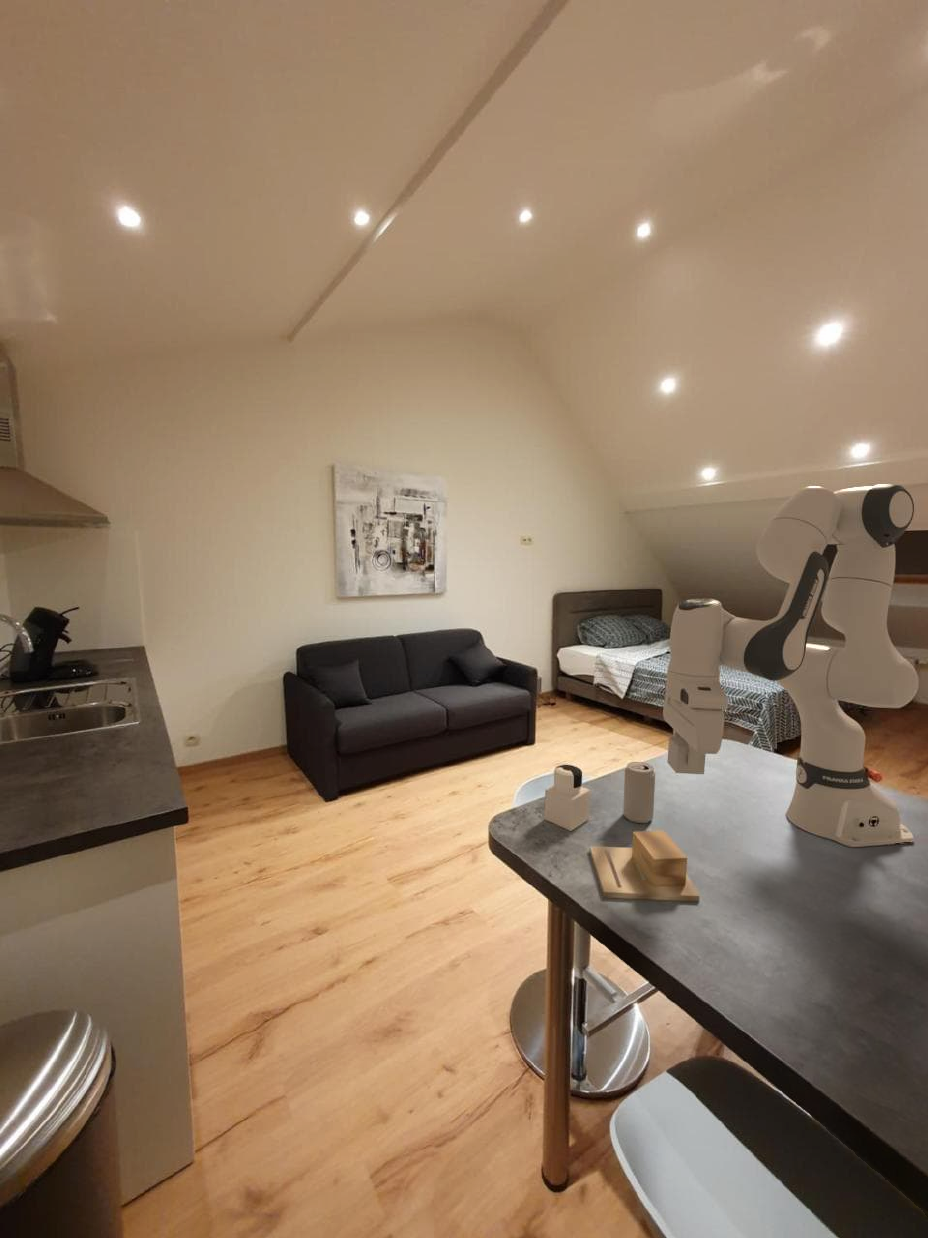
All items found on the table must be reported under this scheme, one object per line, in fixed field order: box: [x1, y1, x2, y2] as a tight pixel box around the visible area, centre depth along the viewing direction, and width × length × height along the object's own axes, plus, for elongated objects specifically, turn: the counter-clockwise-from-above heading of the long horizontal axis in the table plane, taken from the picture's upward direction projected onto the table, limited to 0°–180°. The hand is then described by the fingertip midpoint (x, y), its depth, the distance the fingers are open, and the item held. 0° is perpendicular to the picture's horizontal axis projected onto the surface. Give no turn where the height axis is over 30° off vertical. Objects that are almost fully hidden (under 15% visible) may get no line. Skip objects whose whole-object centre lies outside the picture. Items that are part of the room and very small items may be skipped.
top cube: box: [666, 736, 707, 775], centre depth 98 cm, size 5×5×5 cm
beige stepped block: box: [544, 764, 591, 832], centre depth 116 cm, size 7×7×12 cm
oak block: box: [631, 829, 688, 886], centre depth 96 cm, size 6×9×5 cm, turn 5°
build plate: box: [589, 845, 700, 902], centre depth 97 cm, size 16×14×1 cm
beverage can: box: [622, 761, 656, 824], centre depth 117 cm, size 6×6×12 cm
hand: (686, 759), depth 98 cm, fingers closed on top cube, 5 cm apart
